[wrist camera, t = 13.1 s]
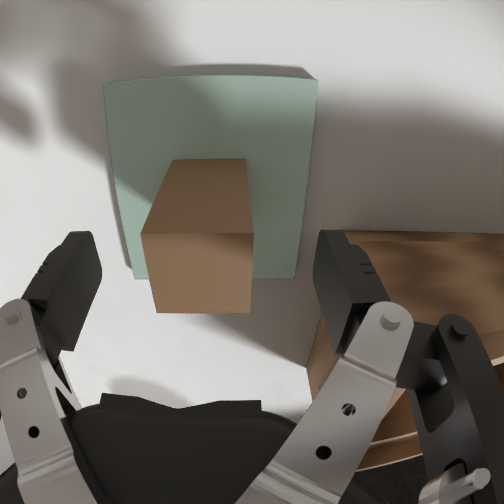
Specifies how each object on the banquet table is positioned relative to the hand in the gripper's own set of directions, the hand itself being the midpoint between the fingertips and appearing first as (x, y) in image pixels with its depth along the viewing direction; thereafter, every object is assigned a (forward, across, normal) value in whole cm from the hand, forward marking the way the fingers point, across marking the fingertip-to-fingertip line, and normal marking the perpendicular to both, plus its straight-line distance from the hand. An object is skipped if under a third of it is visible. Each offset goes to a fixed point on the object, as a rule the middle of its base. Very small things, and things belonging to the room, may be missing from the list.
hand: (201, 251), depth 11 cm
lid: (+6, 0, 0) cm, 6 cm away
